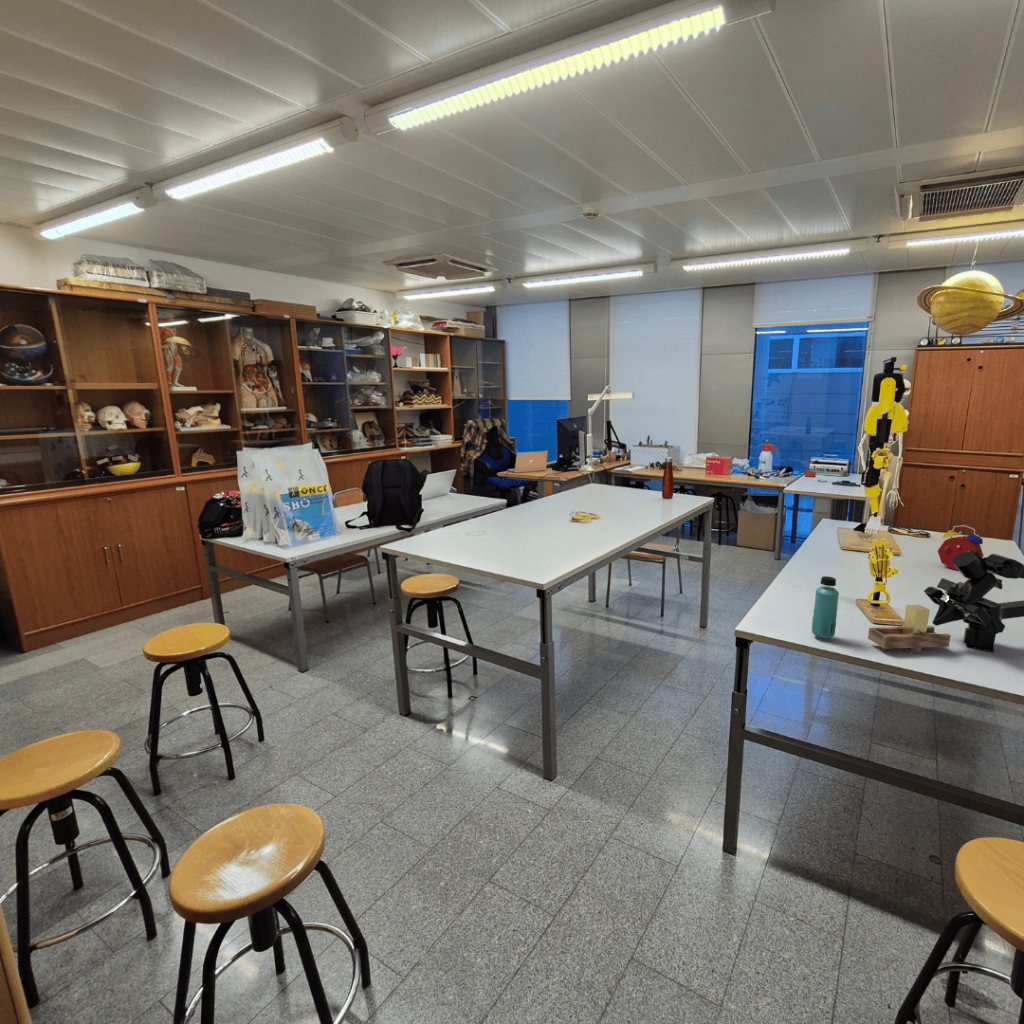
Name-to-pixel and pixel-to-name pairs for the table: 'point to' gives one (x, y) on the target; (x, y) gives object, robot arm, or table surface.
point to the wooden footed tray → (907, 639)
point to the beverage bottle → (825, 609)
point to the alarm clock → (958, 546)
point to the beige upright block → (915, 620)
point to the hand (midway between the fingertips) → (934, 624)
